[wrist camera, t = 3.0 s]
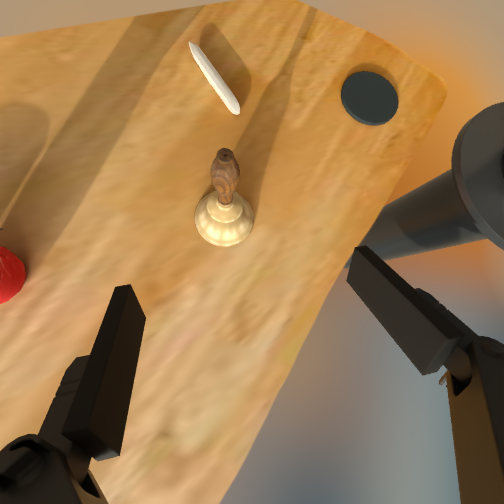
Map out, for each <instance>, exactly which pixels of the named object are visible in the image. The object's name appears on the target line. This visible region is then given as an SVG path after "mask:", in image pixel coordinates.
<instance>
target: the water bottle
mask: <svg viewBox="0 0 504 504" xmlns="http://www.w3.org/2000/svg"><path fill="white" fill-rule="evenodd" d="M0 230H3V229H1V228H0ZM25 279H26V273H25V266H24V264H23V263H22V262H21V261H20V259H19V258H18V257H17V256H16V255H15V254H13V253H12V252H11V251H9V250H8V249H7V248H5V247H1V246H0V304H2V303H4V302H7V301H8V300H10V299H11V298H12V297H13V296H14V295H16V294H17V293H18V292H19V291H20V290H21V288H22V286H23V284H24V281H25Z"/></svg>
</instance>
